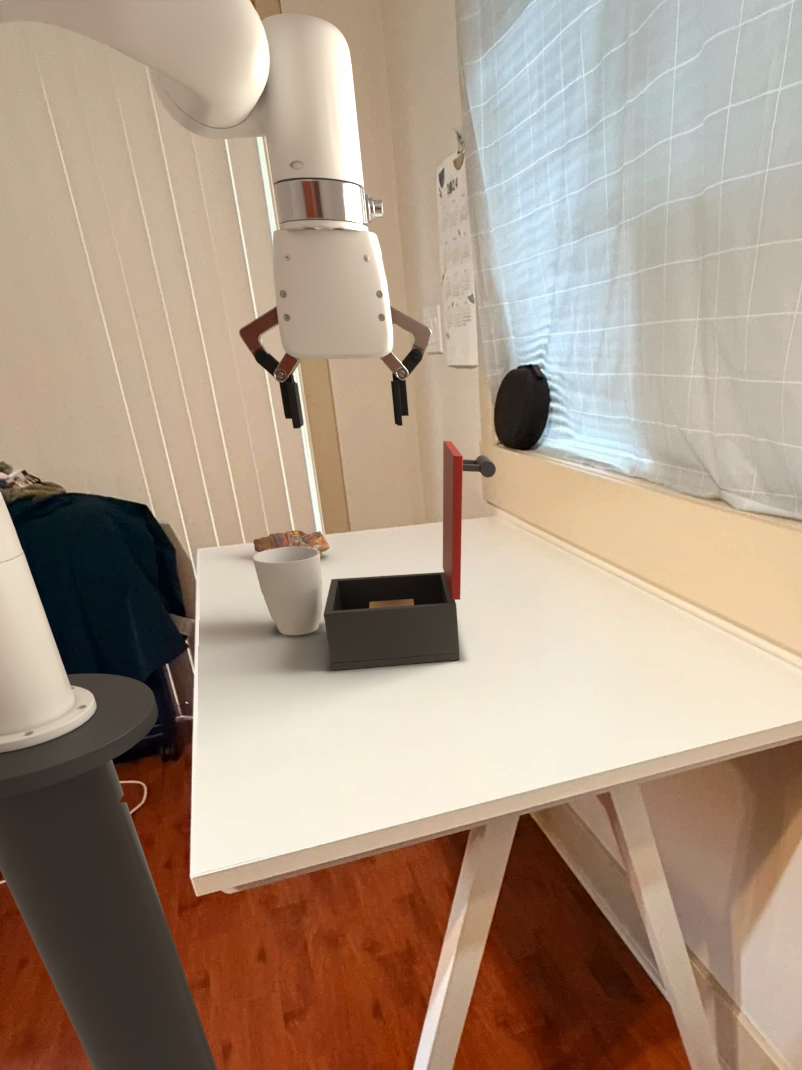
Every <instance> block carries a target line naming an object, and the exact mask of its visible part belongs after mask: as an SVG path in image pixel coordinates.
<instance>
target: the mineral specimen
mask: <svg viewBox="0 0 802 1070" xmlns="http://www.w3.org/2000/svg"><path fill="white" fill-rule="evenodd" d="M252 542H253V547H254V551H255V552H257V553H259V552H262V551H265V550H269V549H274V548H281V547H310V548H314V549H317V550H319V552H320V558H322V557H323V553H324V552H326V551H328V550H329V549H330V544H329V543H328V541H327V539H326V538H325V536H324V534H323V533H322V531H320V530H318V531H314V532H312V533H306V532H304V531H302V530H291V531H290V530H289V531H285V532H275V533H270V534H268V535H267V536H262V537H260V538H255V539H254V540H253V541H252Z"/></svg>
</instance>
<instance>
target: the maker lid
mask: <svg viewBox="0 0 802 1070" xmlns="http://www.w3.org/2000/svg"><path fill="white" fill-rule="evenodd" d="M442 442H443V443H442V446H443V447H442V448H443V449H442V453H443V455H442V458H443V459H442V460H443V461H442V570H443V572H444V574H445V577H446V581H447V584H448V588H449V591H450V595H451V599H452V600H455V601H456V600H457V601H458V600H461V588H462V587H461V586H462V585H461V583H462V582H461V581H462V530H463V529H462V527H463V525H462V523H463V522H462V521H463V519H462V518H463V472H471V473H472V472H475V473H480V474H481V476H483V477H485V478H492V477H494V475H495V474H496V471H497V466H496V464H495V463H494V462H493V461H492V459H490V458H489V457H488V456H487V455H484V454H481V455H479V456H476V458H475V459H466V458H465V459H464V456H463V454H462V453H461V452H460V451H459V449H458V448H457V447H456V445H455V444H454V443H453V442H452V440H451V441H449V440H443V441H442Z"/></svg>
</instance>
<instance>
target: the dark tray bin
mask: <svg viewBox="0 0 802 1070" xmlns="http://www.w3.org/2000/svg"><path fill="white" fill-rule="evenodd" d="M403 599H414V605H409V606H395V607H381V608H369V602H374V601H389V600H403ZM323 619H324V626H325V631H326V638H327V644H328V645H327V646H328V650H329V657H330V663H331V669H332V671H340V670H341V671H342V670H354V669H364V668H366V669H367V668H377V667H388V666H389V667H390V666H399V665H400V666H402V665H410V664H411V665H412V664H413V665H414V664H424V663H425V664H426V663H435V662H448V661H450V662H451V661H460V660H461V655H460V643H459V642H460V640H459V639H460V638H459V624H458V622H459V621H458V609H457V602H456V600H452V599H451V595H450V591H449V588H448V584H447V581H446V577H445V574H444V571H441V572H423V573H407V574H392V575H378V576H377V575H376V576H375V575H374V576H360V577H359V576H358V577H347V578H345V577H344V578H331V579H330V584H329V589H328V592H327V597H326V603H325V607H324V611H323Z"/></svg>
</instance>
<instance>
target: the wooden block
mask: <svg viewBox="0 0 802 1070" xmlns="http://www.w3.org/2000/svg"><path fill="white" fill-rule="evenodd" d="M409 605H414V599H403V600H389V601H374V602H369V608H381V607H395V606H409Z"/></svg>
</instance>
